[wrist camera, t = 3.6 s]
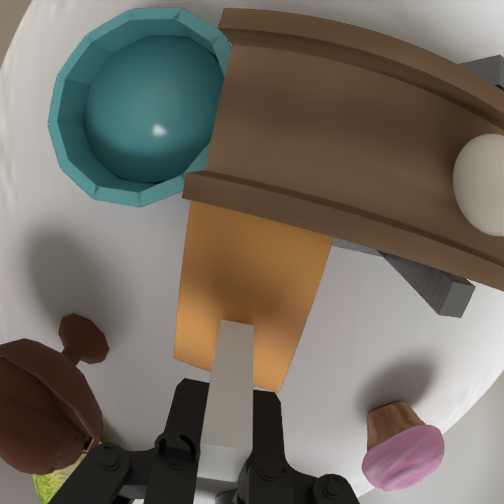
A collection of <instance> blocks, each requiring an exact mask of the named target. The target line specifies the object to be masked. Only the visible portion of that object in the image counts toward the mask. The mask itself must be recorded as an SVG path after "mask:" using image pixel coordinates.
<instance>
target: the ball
mask: <svg viewBox="0 0 504 504" xmlns="http://www.w3.org/2000/svg"><path fill="white" fill-rule="evenodd" d="M453 189H454V194H455V198H456V201H457V203H458V206H459V208H460V210H461V211H462V213H463V215H464V216H465V217H466V219H467V220H468V221H469V222H470V223H471V224H472V225H473V226H474V227H476V228H477V229H478V230H480V231H482V232H484V233H486V234H489V235H493V236H504V136H503V135H498V134H484V135H480V136H478V137H475V138H474V139H472V140H471V141H469V142H468V143H467V144H466V145H465V146H464V147H463V149H462V150H461V151H460V153H459V155H458V157H457V159H456V162H455V165H454V170H453Z"/></svg>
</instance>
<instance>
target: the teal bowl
mask: <svg viewBox="0 0 504 504" xmlns="http://www.w3.org/2000/svg"><path fill="white" fill-rule="evenodd" d="M87 35H88V36H85V37H84V38H83V40H82V41H81V42H80V44H79V45H78V46H77V48H76V49H75V50H74V52H73V53H72V54H71V56H70V57H69V59H68V60H67V62H66V63H65V64H64V66H63V67H62V69H61V70H60V72H59V73H58V75H57V76H58V77H56V81H55V86H54V90H53V95H52V100H51V106H50V112H49V118H48V124H49V125H48V128H49V132H50V136H51V139H52V143H53V146H54V150H55V153H56V156H57V160H58V163H59V166H60V168H61V170H62V171H63V172H64V173H65V174H66V175H68V176H69V177H70V178H71V179H72V180H73V181H74V182H75V183H76V184H77V185H78V186H79V187H80V188H81V189H82V190H84V191H85V192H86V193H87V194H88V195H89V196H90V197H91V198H92V199H94V200H100V201H106V202H111V203H117V204H123V205H129V206H134V207H143V206H146V205H148V204H151V203H153V202H156V201H158V200H161V199H163V198H166V197H168V196H171V195H173V194H176V193H179V192H181V191H183V188H184V182H185V176H186V173H188V172H195V171H202V170H205V168H206V163H207V158H208V152H209V147H210V142H211V137H212V132H213V128H214V123H215V118H216V113H217V109H218V104H219V100H220V95H221V91H222V87H223V82H224V78H225V74H226V70H227V66H228V62H229V58H230V54H231V48H230V46H229V43H228V41H227V38H226V36H225V35H224V34H223V33H222V32H221V31H219V30H218V29H216V28H215V27H213V26H212V25H210V24H209V23H207V22H206V21H204V20H202V19H201V18H199V17H198V16H196V15H194V14H193V13H191V12H189V11H188V10H186V9H184V8H183V9H182V8H139V9H133V10H129V11H127V12H125V13H123V14H121V15H119V16H117V17H115V18H114V19H112V20H110V21H108V22H107V23H105V24H103V25H101V26H100V27H98V28H96V29H95V30H93V31H91V32H90V33H88V34H87ZM188 39H190V40H188ZM212 55H213V56H215V57H216V58H217V59H218V61H219V63H218V62H217V60H216V59H215V58H214V57H213V56H212ZM219 64H220V65H219ZM183 173H184V174H183ZM178 175H179V176H178ZM121 177H122V178H121ZM124 178H125V179H124ZM168 179H169V180H168ZM164 180H166V181H164ZM159 181H164V182H161V183H159V184H157V183H151V182H159Z"/></svg>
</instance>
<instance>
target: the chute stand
mask: <svg viewBox="0 0 504 504" xmlns="http://www.w3.org/2000/svg"><path fill="white" fill-rule="evenodd" d="M459 66H461V67H463V68H465V69H467V70H469V71H471V72H472V73H474V74H476V75H478V76H480V77H481V78H483V79H485V80H486V81H488V82H490V83H491V84H493V85H495V86H496V87H498V88H499V89H501V90H503V91H504V58H503V57H502V56H501V55H497V56H492V57H488V58H483V59H479V60H475V61H471V62H467V63H463V64H459ZM332 246H337V247H341V248H346V249H350V250H355V251H359V252H363V253H368V254H372V255H377V256H381V257H384V258H385V259H386V260H387V261H388V262H389V263H390V264H391V265H392V266H393V267H394V268H395V269H396V270H397V271H398V272H399V273H400V274H401V275H402V276H403V277H404V278H405V279H406V281H407V282H408V283H409V284H410V285H411V286H412V287H413V288H414V289H415V290H416V291H417V292H418V293H419V294H420V295H421V296H422V297H423V299H424V300H425V301H426V302H427V303H428V304H429V305H430V306H431V307H432V308H433V309H434V311H435V312H436V313H437V314H438V315H443V316H450V317H458V318H461V317H462V315H463V313H464V311H465V309H466V307H467V305H468V303H469V300H470V298H471V296H472V294H473V292H474V289H475V286H474V285H473V284H471V283H470V282H469V281H468V280H467V279H465V278H464V277H461V276H458V275H455V274H452V273H449V272H446V271H443V270H440V269H436V268H433V267H430V266H427V265H424V264H421V263H418V262H415V261H411V260H408V259H405V258H402V257H399V256H395V255H392V254H389V253H386V252H382V251H379V250H376V249H372V248H369V247H366V246H362V245H359V244H355V243H352V242H348V241H345V240H342V239H338V238H335V237H334V238H333V242H332Z"/></svg>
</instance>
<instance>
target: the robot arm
mask: <svg viewBox="0 0 504 504" xmlns="http://www.w3.org/2000/svg"><path fill="white" fill-rule="evenodd" d="M253 348H254V325H249V324H244V323H238V322H233V321H228V320H222V319H221V323H220V329H219V334H218V339H217V345H216V350H215V356H214V361H213V367H212V373H211V378H210V383H206V382H201V381H196V380H191V379H187V378H184V379H183V380H182V381H181V382H180V383H179V384H178V385H177V387H176V390H175V394H174V398H173V401H172V405H171V408H170V412H169V415H168V419H167V423H166V427H165V430H164V433H162V434H161V435H159V436H158V437H157V439H156V441H155V443H154V444H155V447H154V448H153V449H150V450H147V451H124V450H123V449H122V448H121V447H119V446H117V445H114V444H112V443H102V444H98V445H96V446H95V447H93V448H92V449H91V450H90V451H89V452H88V454H87V455H86V456H85V457H84V459H83V460H82V461H81V462H80V464H79V465H78V466H77V467H76V469H75V470H74V471H73V472H72V474H71V475H70V476H69V477H68V478H67V480H66V481H65V482H64V483H63V485H62V486H61V487H60V488H59V490H58V491H57V492H56V493H55V495H54V496H53V497H52V498H51V500H50V501H49V502H48V503H47V504H132V503H133V502H134V500H135V499H144V503H143V504H193V501H194V494H195V487H196V480H197V477H202V478H208V479H215V480H222V481H230V482H237V480H238V490H233V491H228V492H225V493H222V494H220V495H218V496H217V497H216V500H215V504H360V503H359V501H358V499H357V497H356V495H355V493H354V491H353V489H352V487H351V485H350V484H349V482H348V481H347V480H346V479H345V478H343V477H342V476H340V475H336V474H326V475H323V476H321V477H319V478H317V477H313V476H310V475H306V474H303V473H300V472H298V471H296V470H294V469H293V468H292V467H291V466H290V465H289V464H288V462H287V461H286V458H285V453H284V440H283V426H282V415H281V402H280V401H279V399H278V397H277V395H276V394H275V392H268V391H260V390H253Z"/></svg>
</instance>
